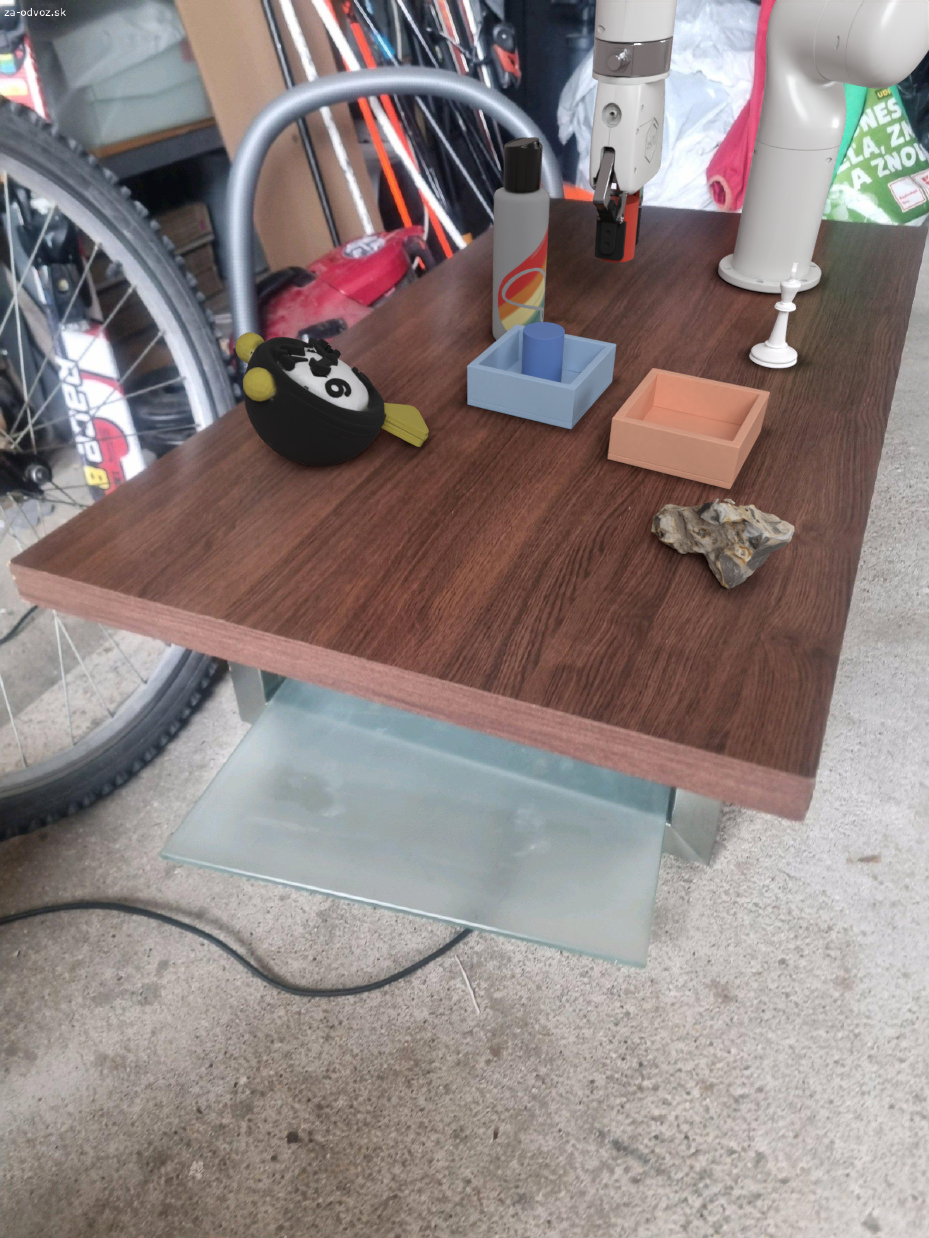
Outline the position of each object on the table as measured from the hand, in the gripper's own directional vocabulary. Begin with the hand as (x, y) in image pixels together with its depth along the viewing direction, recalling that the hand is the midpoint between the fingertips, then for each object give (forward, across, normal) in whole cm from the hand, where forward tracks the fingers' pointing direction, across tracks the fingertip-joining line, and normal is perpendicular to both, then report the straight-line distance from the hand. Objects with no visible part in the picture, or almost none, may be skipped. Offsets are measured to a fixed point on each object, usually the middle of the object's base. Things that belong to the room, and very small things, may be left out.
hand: (616, 249), depth 96 cm
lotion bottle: (+7, -10, +8) cm, 15 cm away
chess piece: (+8, -3, -19) cm, 21 cm away
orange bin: (+7, -25, -16) cm, 31 cm away
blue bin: (+7, -21, 0) cm, 23 cm away
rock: (+7, -41, -23) cm, 48 cm away
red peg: (+1, 0, 0) cm, 1 cm away
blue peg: (+6, -22, 0) cm, 22 cm away
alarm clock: (+6, -41, +12) cm, 43 cm away
